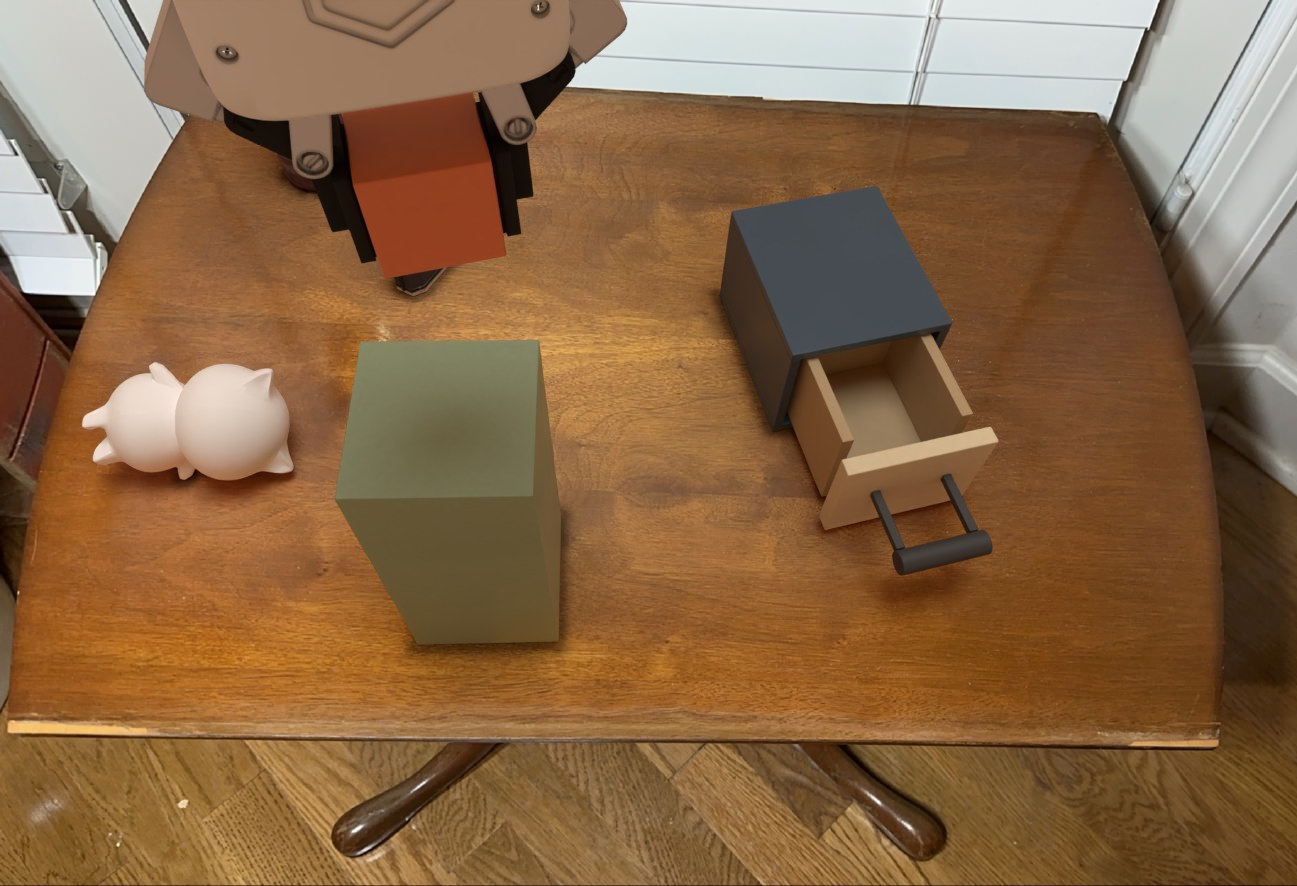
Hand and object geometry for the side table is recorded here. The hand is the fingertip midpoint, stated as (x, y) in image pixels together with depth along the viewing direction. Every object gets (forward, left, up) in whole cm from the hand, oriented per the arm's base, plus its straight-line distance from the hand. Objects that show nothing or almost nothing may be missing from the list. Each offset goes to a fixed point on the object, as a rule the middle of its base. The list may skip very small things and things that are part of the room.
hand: (436, 218), depth 34 cm
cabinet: (+19, -22, -33) cm, 44 cm away
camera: (+31, +9, -33) cm, 46 cm away
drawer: (+7, -25, -32) cm, 41 cm away
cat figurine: (+11, +22, -33) cm, 41 cm away
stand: (0, +2, -33) cm, 33 cm away
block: (0, 0, 0) cm, 0 cm away
